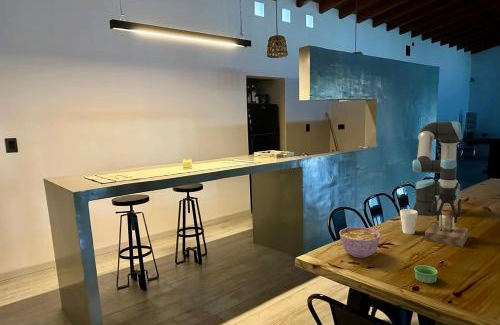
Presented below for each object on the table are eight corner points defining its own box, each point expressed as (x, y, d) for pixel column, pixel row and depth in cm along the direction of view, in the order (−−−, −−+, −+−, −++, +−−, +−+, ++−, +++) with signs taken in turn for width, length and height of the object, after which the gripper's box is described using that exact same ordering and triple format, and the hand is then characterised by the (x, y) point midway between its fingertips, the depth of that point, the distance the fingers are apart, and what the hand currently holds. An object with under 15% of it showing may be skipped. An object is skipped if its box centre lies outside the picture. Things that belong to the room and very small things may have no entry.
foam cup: (399, 233, 197) (399, 212, 195) (400, 229, 205) (400, 208, 204) (417, 235, 193) (417, 214, 191) (417, 230, 201) (417, 210, 199)
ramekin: (429, 273, 147) (430, 264, 147) (442, 283, 138) (442, 273, 138) (410, 275, 147) (410, 265, 146) (421, 285, 138) (421, 275, 138)
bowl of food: (332, 251, 177) (331, 230, 175) (362, 244, 184) (362, 224, 182) (356, 266, 158) (356, 243, 157) (389, 258, 165) (389, 236, 163)
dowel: (441, 239, 186) (441, 211, 184) (442, 237, 189) (442, 209, 187) (449, 240, 183) (449, 212, 181) (451, 238, 186) (451, 210, 184)
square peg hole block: (424, 240, 185) (425, 231, 184) (432, 231, 198) (432, 223, 198) (462, 247, 173) (462, 238, 173) (467, 237, 187) (468, 228, 186)
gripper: (427, 186, 185) (426, 226, 188) (467, 189, 173) (465, 232, 176) (430, 183, 191) (429, 222, 194) (469, 187, 179) (467, 228, 182)
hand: (446, 227), depth 185 cm, fingers open, 6 cm apart
